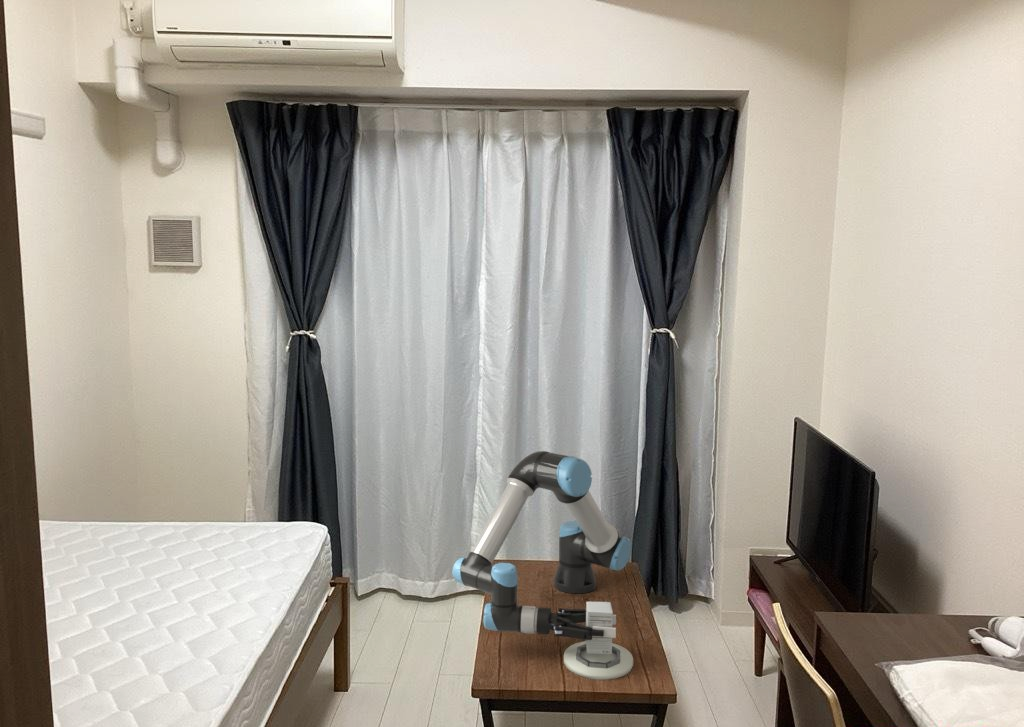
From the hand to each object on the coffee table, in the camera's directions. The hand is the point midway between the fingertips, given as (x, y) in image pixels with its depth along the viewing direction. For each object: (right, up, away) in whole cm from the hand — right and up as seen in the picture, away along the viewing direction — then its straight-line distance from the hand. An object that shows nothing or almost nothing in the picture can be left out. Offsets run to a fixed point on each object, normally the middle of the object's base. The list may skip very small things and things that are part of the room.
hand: (615, 626), depth 229 cm
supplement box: (-5, -7, +1) cm, 9 cm away
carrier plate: (-5, -11, +2) cm, 12 cm away
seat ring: (-5, -10, +2) cm, 11 cm away
